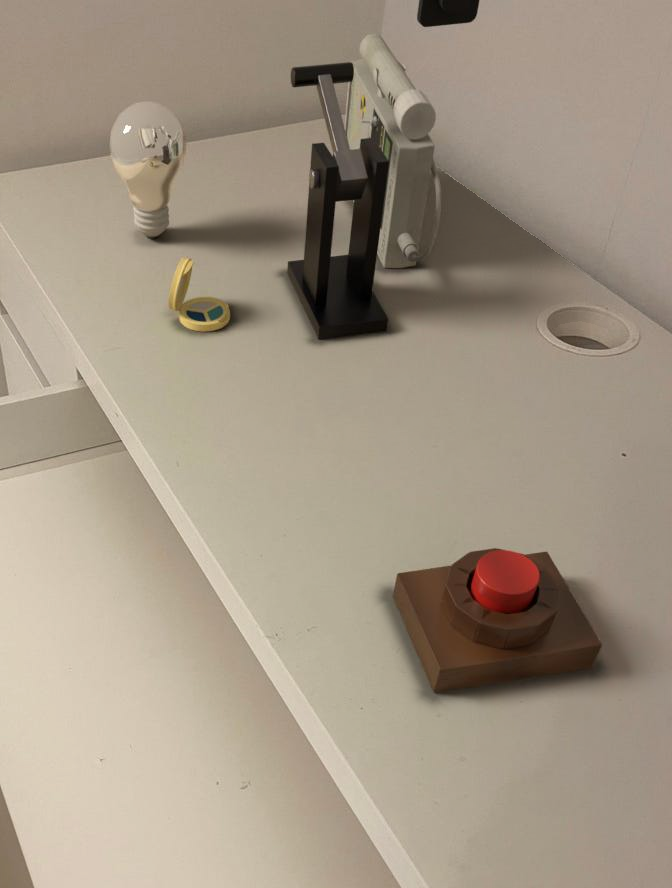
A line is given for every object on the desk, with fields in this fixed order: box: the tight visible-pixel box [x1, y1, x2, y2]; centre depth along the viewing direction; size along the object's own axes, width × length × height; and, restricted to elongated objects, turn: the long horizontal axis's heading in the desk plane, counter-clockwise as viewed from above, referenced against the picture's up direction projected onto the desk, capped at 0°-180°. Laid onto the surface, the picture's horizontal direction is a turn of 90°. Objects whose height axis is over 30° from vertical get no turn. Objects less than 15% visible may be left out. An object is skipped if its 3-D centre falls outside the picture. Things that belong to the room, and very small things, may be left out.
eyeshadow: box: [168, 257, 231, 332], centre depth 83 cm, size 4×5×5 cm
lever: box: [290, 61, 368, 202], centre depth 79 cm, size 12×5×2 cm, turn 10°
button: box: [471, 549, 540, 614], centre depth 58 cm, size 4×4×2 cm
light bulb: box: [108, 100, 187, 239], centre depth 90 cm, size 7×7×12 cm
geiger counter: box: [344, 33, 442, 269], centre depth 89 cm, size 14×6×25 cm
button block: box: [392, 547, 603, 694], centre depth 59 cm, size 10×8×4 cm
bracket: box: [286, 138, 389, 340], centre depth 81 cm, size 11×6×13 cm, turn 10°
